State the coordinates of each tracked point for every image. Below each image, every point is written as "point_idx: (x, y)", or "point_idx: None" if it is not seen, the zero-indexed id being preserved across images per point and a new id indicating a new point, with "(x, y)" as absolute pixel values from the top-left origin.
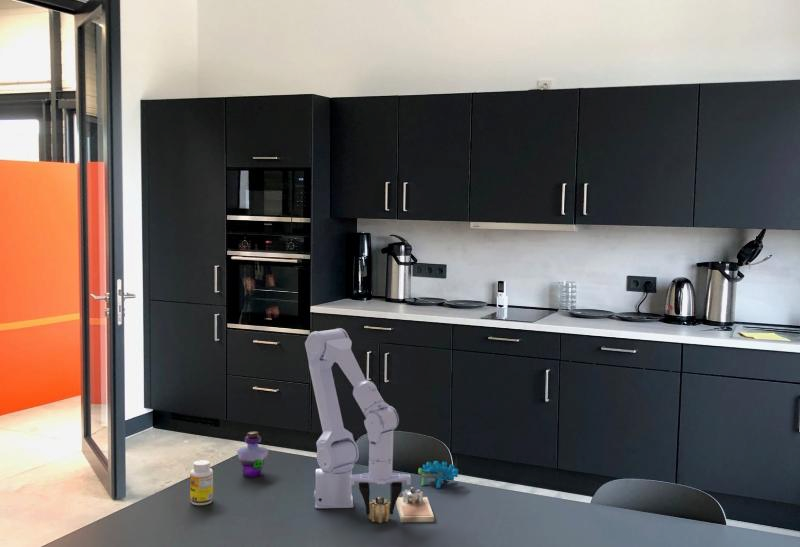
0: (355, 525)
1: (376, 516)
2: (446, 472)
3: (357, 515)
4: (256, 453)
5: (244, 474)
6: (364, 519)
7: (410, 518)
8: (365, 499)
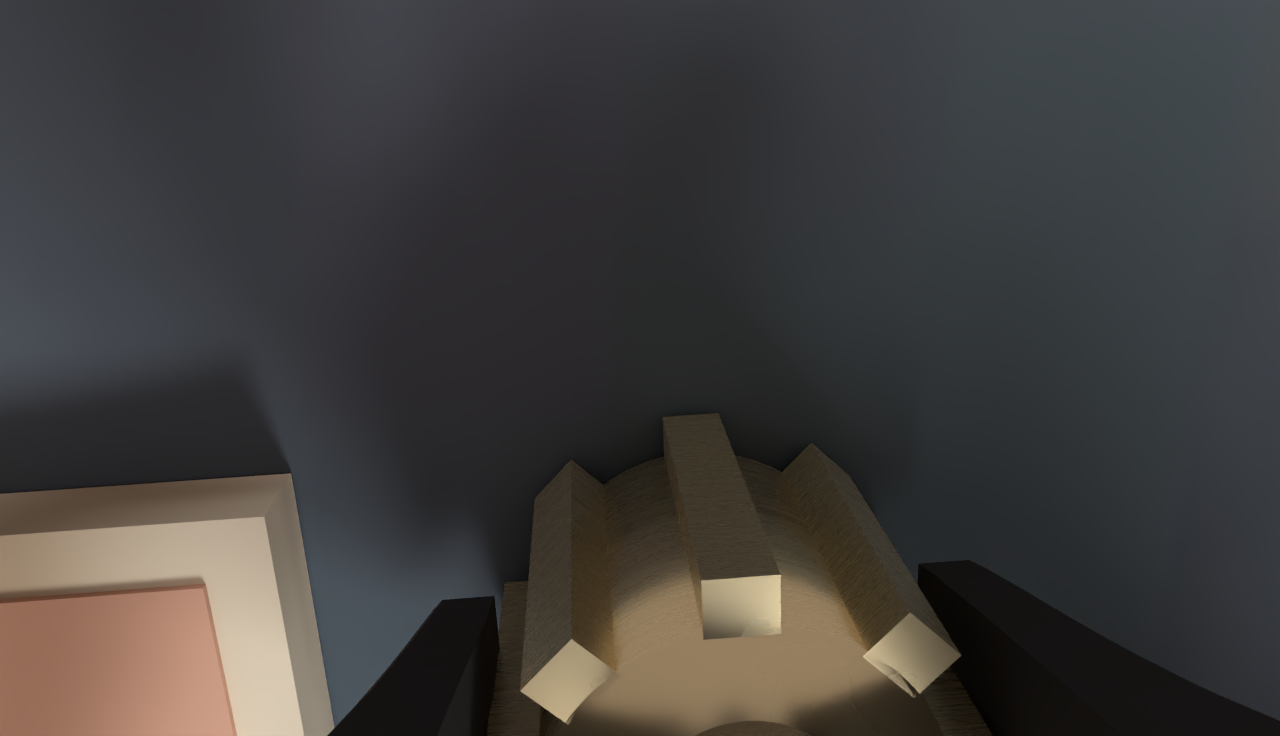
0: (1152, 314)
1: (779, 505)
2: None
3: None
4: None
5: None
6: None
7: (71, 516)
8: (1228, 722)
